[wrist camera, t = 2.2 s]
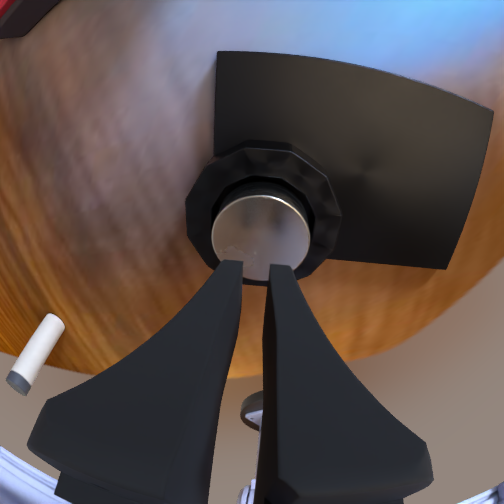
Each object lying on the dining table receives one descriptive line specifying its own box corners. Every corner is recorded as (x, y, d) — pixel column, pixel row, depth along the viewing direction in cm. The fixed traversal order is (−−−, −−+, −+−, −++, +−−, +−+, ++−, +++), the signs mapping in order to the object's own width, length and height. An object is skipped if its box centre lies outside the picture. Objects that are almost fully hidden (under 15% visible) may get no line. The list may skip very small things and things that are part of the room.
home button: (312, 184, 12) (317, 201, 11) (300, 262, 14) (302, 285, 13) (218, 176, 12) (210, 191, 11) (218, 254, 15) (211, 276, 13)
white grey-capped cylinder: (68, 326, 23) (28, 395, 16) (60, 332, 23) (23, 397, 17) (51, 310, 22) (7, 377, 15) (44, 317, 23) (3, 380, 16)
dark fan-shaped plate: (488, 109, 10) (512, 117, 9) (437, 276, 16) (450, 299, 15) (198, 52, 11) (184, 48, 9) (199, 255, 17) (190, 279, 15)
